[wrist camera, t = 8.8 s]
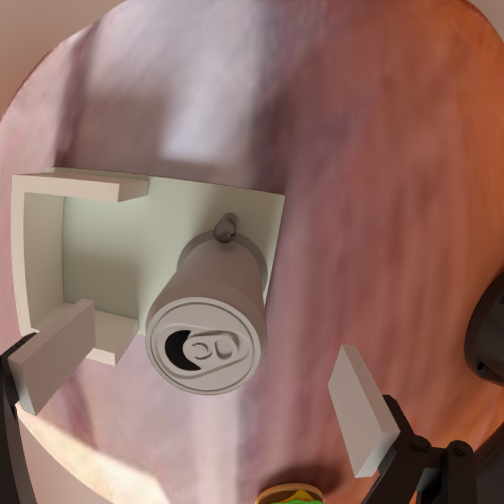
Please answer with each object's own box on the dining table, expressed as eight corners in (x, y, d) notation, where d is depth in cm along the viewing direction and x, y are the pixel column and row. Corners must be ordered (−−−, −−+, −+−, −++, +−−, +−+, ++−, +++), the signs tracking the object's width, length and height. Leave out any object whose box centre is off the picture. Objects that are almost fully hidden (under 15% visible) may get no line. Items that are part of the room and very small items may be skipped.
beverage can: (176, 243, 25) (120, 298, 14) (254, 231, 25) (258, 280, 13) (192, 314, 27) (158, 404, 15) (266, 304, 26) (276, 395, 15)
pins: (239, 214, 25) (236, 223, 20) (221, 330, 27) (216, 361, 22) (221, 211, 25) (214, 220, 20) (206, 328, 27) (197, 358, 22)
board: (283, 194, 26) (285, 196, 24) (254, 346, 29) (254, 355, 28) (53, 166, 25) (44, 167, 23) (52, 304, 28) (44, 309, 27)
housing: (148, 181, 24) (119, 184, 18) (138, 331, 27) (115, 366, 21) (53, 172, 24) (12, 174, 18) (53, 309, 27) (20, 335, 21)
